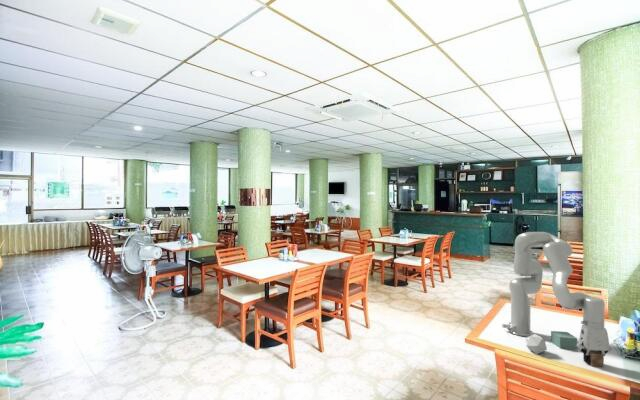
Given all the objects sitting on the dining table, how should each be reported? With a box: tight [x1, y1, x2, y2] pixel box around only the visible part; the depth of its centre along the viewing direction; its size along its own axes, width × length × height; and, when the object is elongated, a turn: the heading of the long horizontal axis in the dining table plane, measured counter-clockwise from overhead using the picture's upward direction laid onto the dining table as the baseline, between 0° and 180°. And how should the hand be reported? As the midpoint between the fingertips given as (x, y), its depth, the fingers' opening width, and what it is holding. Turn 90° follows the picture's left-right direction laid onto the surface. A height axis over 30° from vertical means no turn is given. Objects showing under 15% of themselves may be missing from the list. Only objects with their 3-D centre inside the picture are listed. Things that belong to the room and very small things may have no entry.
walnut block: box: [583, 349, 605, 368], centre depth 148 cm, size 5×5×6 cm
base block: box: [550, 330, 578, 350], centre depth 167 cm, size 8×8×6 cm
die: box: [524, 333, 547, 355], centre depth 159 cm, size 8×9×10 cm
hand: (593, 362), depth 148 cm, fingers closed on walnut block, 5 cm apart
